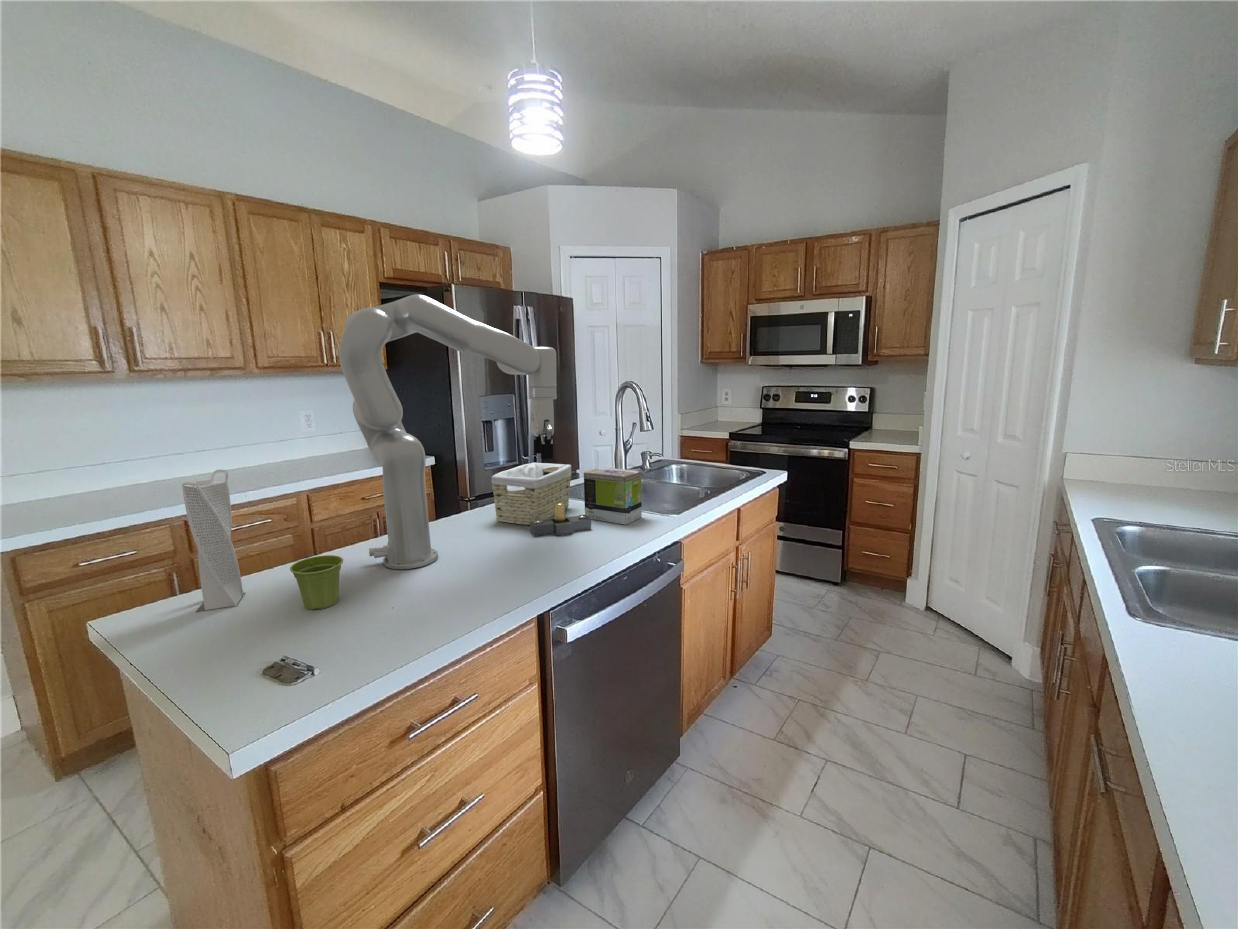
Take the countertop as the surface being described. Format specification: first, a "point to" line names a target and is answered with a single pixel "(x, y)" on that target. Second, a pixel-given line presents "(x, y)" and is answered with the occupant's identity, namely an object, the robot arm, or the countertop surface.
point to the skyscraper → (213, 542)
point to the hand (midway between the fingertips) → (543, 455)
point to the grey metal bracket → (560, 526)
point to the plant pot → (318, 580)
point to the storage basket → (530, 492)
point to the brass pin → (560, 512)
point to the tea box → (613, 495)
